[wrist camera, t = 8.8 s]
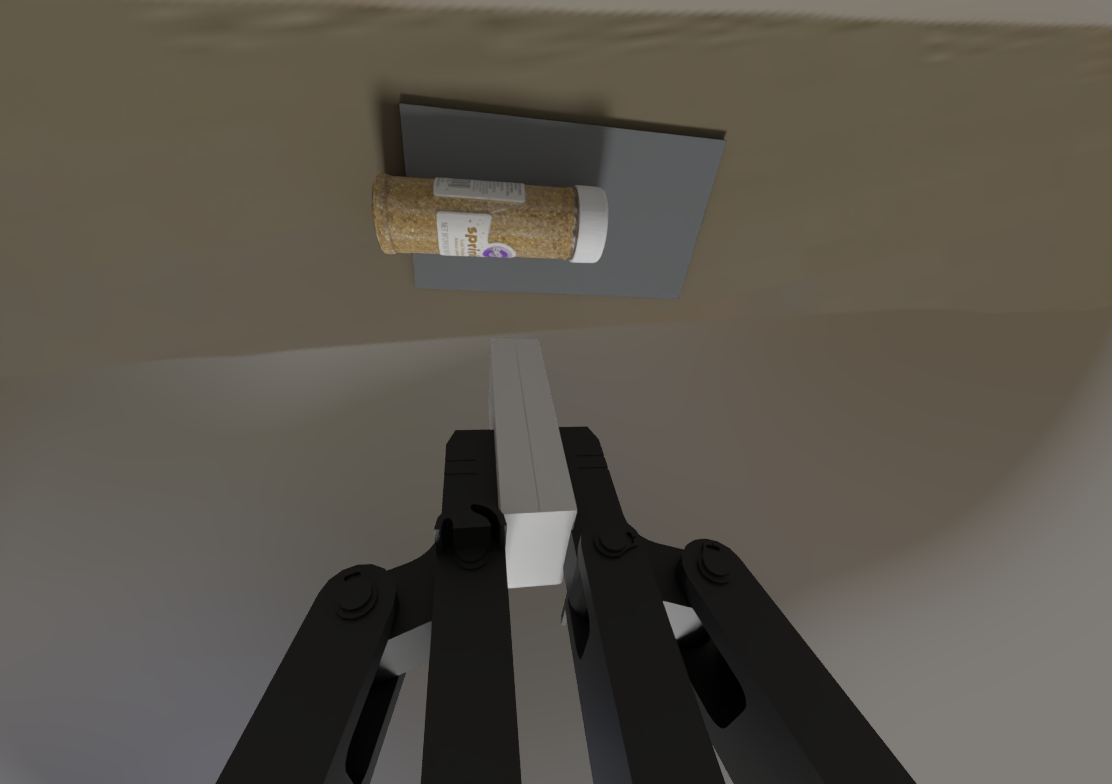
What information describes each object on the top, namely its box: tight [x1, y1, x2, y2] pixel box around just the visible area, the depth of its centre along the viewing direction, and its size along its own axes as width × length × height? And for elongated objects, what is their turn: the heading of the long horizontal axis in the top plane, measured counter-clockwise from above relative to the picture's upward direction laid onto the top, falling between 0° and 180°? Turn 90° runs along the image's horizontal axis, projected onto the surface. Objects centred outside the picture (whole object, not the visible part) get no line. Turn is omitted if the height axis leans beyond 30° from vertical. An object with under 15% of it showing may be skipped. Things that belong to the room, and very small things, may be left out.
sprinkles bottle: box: [372, 173, 608, 263], centre depth 27 cm, size 5×5×13 cm
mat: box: [399, 103, 726, 299], centre depth 30 cm, size 20×11×1 cm, turn 83°
